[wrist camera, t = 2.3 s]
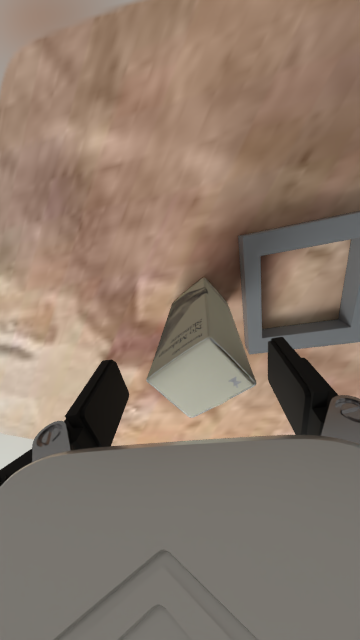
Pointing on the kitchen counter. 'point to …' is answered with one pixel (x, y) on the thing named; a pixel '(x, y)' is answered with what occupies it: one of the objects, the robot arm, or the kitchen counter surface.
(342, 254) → the kitchen counter surface
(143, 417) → the kitchen counter surface
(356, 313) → the frame
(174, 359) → the box
